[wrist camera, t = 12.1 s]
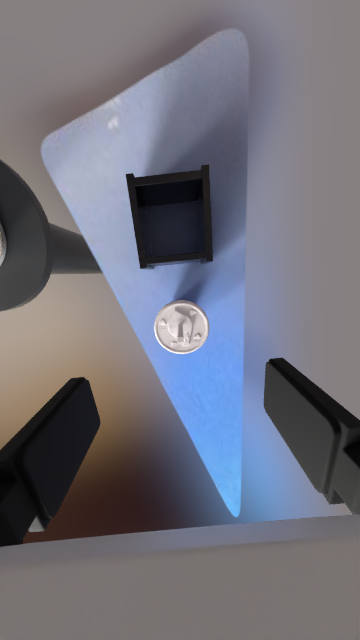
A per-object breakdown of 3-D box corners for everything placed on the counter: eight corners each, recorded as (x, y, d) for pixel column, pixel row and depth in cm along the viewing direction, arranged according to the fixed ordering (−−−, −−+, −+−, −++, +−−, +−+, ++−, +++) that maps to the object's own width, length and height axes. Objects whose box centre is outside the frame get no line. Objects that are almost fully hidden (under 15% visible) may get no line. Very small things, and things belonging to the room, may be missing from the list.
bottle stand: (148, 269, 26) (140, 268, 21) (138, 197, 24) (125, 173, 18) (205, 263, 26) (213, 261, 20) (201, 190, 24) (208, 164, 18)
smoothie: (193, 286, 27) (207, 299, 14) (204, 321, 29) (226, 365, 15) (156, 298, 28) (134, 323, 14) (169, 333, 29) (161, 384, 16)
